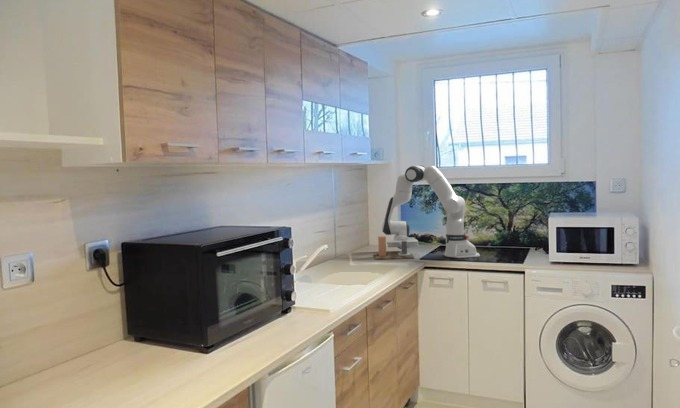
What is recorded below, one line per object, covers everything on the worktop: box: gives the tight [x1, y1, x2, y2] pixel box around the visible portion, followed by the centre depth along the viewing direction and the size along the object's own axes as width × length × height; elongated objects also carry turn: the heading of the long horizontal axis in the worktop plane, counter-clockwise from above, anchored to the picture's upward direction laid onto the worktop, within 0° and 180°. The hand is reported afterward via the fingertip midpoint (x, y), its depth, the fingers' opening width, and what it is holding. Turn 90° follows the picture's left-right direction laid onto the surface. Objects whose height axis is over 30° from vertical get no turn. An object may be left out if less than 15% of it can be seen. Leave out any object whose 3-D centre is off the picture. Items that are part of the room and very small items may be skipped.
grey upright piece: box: [397, 241, 412, 256], centre depth 326 cm, size 8×8×9 cm
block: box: [377, 235, 387, 256], centre depth 329 cm, size 4×4×13 cm
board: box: [373, 252, 415, 261], centre depth 327 cm, size 24×18×2 cm
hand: (404, 245), depth 328 cm, fingers closed, pressing on grey upright piece
